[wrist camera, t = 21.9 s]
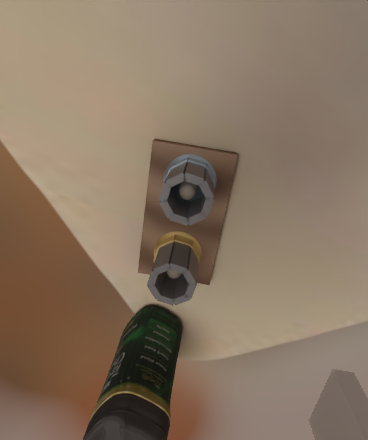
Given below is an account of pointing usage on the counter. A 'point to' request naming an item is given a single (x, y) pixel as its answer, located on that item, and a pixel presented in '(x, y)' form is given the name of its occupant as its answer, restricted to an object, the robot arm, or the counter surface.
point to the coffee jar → (139, 380)
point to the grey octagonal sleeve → (200, 203)
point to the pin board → (198, 228)
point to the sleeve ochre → (177, 261)
